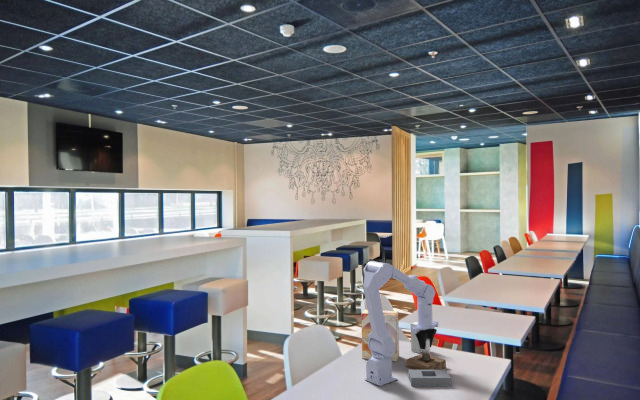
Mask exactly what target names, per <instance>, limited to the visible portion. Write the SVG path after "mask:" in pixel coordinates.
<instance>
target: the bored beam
mask: <svg viewBox="0 0 640 400" xmlns="http://www.w3.org/2000/svg"><path fill="white" fill-rule="evenodd" d="M407 371H408V375H407V376H408V380H409V383H410V386H411V387H451V386H452V383H451V382H452V378H451V376H450V374H449V373H448V371H447V369H441V370H414V369H407Z"/></svg>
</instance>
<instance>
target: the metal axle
mask: <svg viewBox="0 0 640 400" xmlns="http://www.w3.org/2000/svg"><path fill="white" fill-rule="evenodd" d="M421 354H422V359H423V360H430V355H431V347H430V339H429V338H427V339H426V348H425V350H424V349H422V352H421Z"/></svg>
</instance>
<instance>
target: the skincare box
mask: <svg viewBox="0 0 640 400" xmlns="http://www.w3.org/2000/svg"><path fill="white" fill-rule="evenodd" d="M417 324H418V321H415V322H411V323H410V350H411V351H412V352H415V353H418V354H421V353H422V349H420V345H419V342H418V339H417V337H416V335H415V334H414V333H412V328H413V327H415V326H416V325H417Z"/></svg>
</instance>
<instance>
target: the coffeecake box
mask: <svg viewBox="0 0 640 400" xmlns="http://www.w3.org/2000/svg"><path fill="white" fill-rule="evenodd" d="M383 314H384V319H385V325H386V330H387V331H388V332H389V334H390V335H391V336H392V340H393V342H394V343H395V345H396V351H395V353H394V355H393V357H392V362H398V359H399V357H400V332H399V331H400V330H399V329H400V326H399V325H400V324H399V323H400V322H399V321H400V320H399V317H400V316H399V310H397V311H395V310H383ZM371 332H372V330H371V325H370V320H369V314H368V309H364V310H363V311H362V312H361V357H362V358H361V359H363V360H369V359H371V357H372V354H371V350H370V349H369V347H368V342H369V336H368V335H369V334H370V333H371Z"/></svg>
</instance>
